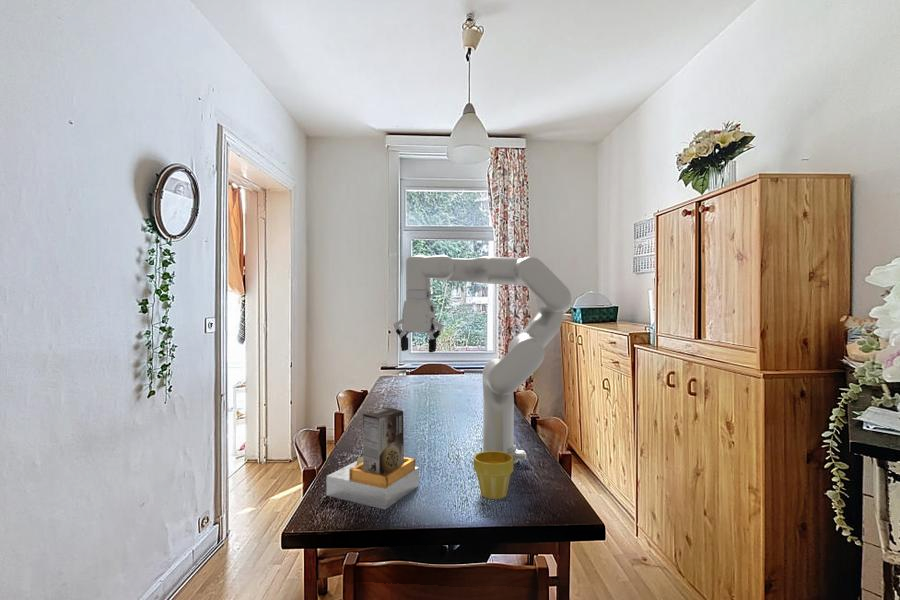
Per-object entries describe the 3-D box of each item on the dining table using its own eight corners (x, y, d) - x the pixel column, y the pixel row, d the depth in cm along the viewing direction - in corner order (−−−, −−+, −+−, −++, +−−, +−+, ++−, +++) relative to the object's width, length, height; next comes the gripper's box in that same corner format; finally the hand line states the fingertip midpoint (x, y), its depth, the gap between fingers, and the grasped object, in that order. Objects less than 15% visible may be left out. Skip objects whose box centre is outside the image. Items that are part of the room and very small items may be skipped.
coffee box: (387, 465, 129) (387, 406, 129) (404, 471, 125) (404, 410, 125) (361, 475, 122) (362, 413, 122) (379, 481, 118) (379, 417, 118)
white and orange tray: (418, 485, 128) (418, 458, 128) (385, 509, 114) (385, 478, 114) (364, 474, 136) (364, 448, 136) (326, 495, 122) (326, 466, 122)
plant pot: (465, 494, 123) (465, 456, 123) (491, 483, 130) (491, 447, 130) (495, 506, 116) (496, 466, 115) (521, 494, 123) (521, 456, 123)
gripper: (448, 296, 147) (448, 351, 147) (400, 296, 154) (400, 348, 154) (437, 296, 140) (437, 354, 140) (387, 296, 147) (388, 351, 148)
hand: (418, 351), depth 147 cm, fingers open, 9 cm apart
